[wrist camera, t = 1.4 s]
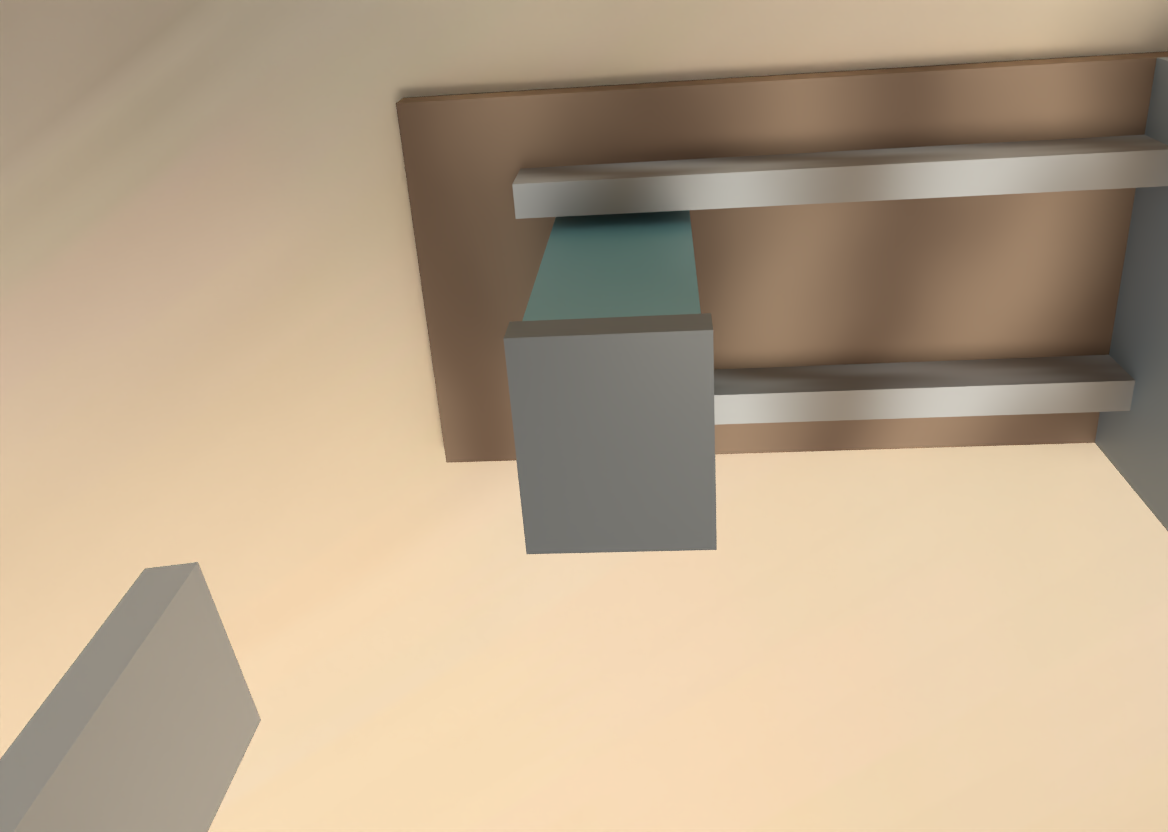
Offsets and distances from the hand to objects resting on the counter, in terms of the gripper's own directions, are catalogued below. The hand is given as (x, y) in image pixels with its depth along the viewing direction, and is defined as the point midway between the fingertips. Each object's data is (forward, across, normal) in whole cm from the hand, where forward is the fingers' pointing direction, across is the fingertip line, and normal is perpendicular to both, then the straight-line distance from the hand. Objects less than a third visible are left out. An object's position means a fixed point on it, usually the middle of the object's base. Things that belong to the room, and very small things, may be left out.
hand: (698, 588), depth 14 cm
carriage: (+20, -2, -3) cm, 20 cm away
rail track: (+21, +6, -3) cm, 22 cm away
